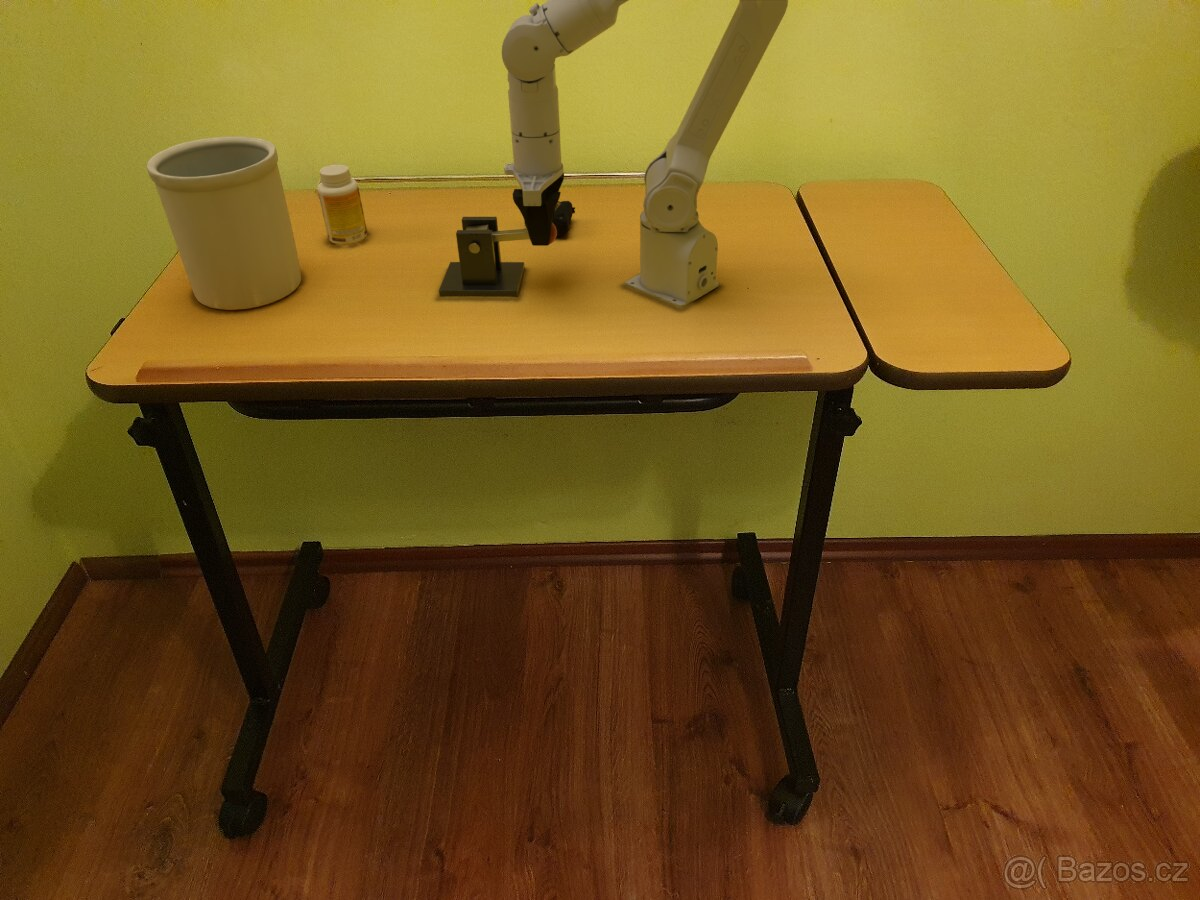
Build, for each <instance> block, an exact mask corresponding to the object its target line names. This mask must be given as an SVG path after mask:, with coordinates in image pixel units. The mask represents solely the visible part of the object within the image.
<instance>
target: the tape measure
mask: <svg viewBox="0 0 1200 900" xmlns="http://www.w3.org/2000/svg"><path fill="white" fill-rule="evenodd" d="M573 214H576V207H575V206H574V207H573V203H572V202H571V201H569V200H562V201H559V200H558V203H557V205H556V207H555V215H554V223H553V224H554V225H555V227H556V230H557V236H556V237H561V236H566V235H567V234H568V233H569V229H570V224H571V221H572V218H573ZM523 221H524V220H523ZM524 227H525V229H527V227H526V223H525V221H524Z"/></svg>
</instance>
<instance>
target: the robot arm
mask: <svg viewBox="0 0 1200 900" xmlns="http://www.w3.org/2000/svg"><path fill="white" fill-rule="evenodd" d="M627 2H629V0H547V1H544V3H542V4H541V5H539V3H537V2H536V3H534V4H533V5H531V6H530V7H529V9H528V11H529V12H528V14H523V15H521V16H519V17H518V18H516V19H515V20H514V21H513V22H512V23H511V25H510V27H509V29H508V31H507V33H506V35H505V36H504V39H503V41H502V44H501V59H502V62H503V65H504V68H506V70H507V82H508V90H507V97H508V111H509V119H510V120H509V121H510V123H509V124H510V132H511V146H512V147H511V148H512V156H513V157H512V158H513V163H510V162H509V163H506V164H505V165H504V168H503V171H504V175H505V176H513V177H514V178H515V180H516V182H517V184H518V185H519V187H520V188H514V189H513V192H512V200H513V203H514V204H515V205H516V207H517V209H518V210H519V212H520V214H521V216H522V218H523V221H525V222H524V224H525V223H526V226H525V228H526V227H527V228H526V229H527V230H528V234H529V237H530V239H529V240H530V243H531V245H532V246H534V247H537V246H539V247H541V246H543V247H544V246H545V247H548V246H550V244H549V242H550V237H551V229H552V223H554V215H555V207H556V205H557V203H558V201H559V200H560V197H561V191H560V190H561V187H562V185H563V182H564V180H565V172H564V164H563V162H562V146H561V143H562V142H561V126H560V124H561V123H560V105H559V104H560V103H559V88H558V85H557V78H556V77H557V76H556V63H555V62H556V59H557V58H560V57H568V56H569V55H571V54H572V53H574V52H575V51H577V50H578V49H580V48H581V47H584V46H585V45H586V44H588V43H589V42H590V41H592V40H593V39H595V38H597V37H599V36H600V35H602V34H603V33H604V32H606V31H607V30H608V29H610V28H612V27H613V26H615V25H616V22H617V18H618V14H619V9H620V7H621V6H623V5H624V4H625V3H627ZM788 6H789V0H739V1H738V4H737V6H736V9H735V11H734V12H733V15H732V17H731V19H730V20H729V23H728V25H727V27H726V29H725V32H724V33H723V35H722V38H721V39H720V42H719V44H718V46H717V48H716V50H715V52H714V54H713V56H712V58H711V60H710V62H709V63H708V66H707V68H706V70H705V72H704V74H703V77H702V78H701V81H700V82H699V84H698V87H697V89H696V91H695V94H694V95H693V97H692V99H691V101H690V103H689V105H688V108H687V110H686V111H685V113H684V116H683V118H682V120H681V122H680V124H679V126H678V128H677V130H676V132H675V134H674V135H673V136H672V137H671V138H669V140H668V142H667V144H666V146H665V147H664V149H663V151H662V152H661V153H660V154H658V156H657V157H655V158H654V159H652V160H651V162H650V163H649V164H648V166H647V167H646V169H645V172H644V178H643V180H644V187H645V188H644V189H645V190H644V191H645V192H644V198H643V205H642V206H643V211H642V212H640V215H639V221H640V222H639V230H640V231H639V274H637V275H635V276H633V277H631V278H630V279H627V280H626V281H625V285H626V286H628V287H630V288H633V289H635V290H637V291H640V292H642V293H645V294H647V295H649V296H652V297H655V298H657V299H659V300H662V301H664V302H667V303H669V304H671V305H674V306H676V307H680V308H682V307H685V306H687V305H688V304H690V303H692V302H695V301H696V300H698V299H699V298H701V297H703V296H705V295H706V294H708V293H709V292H711V291H713V290H714V289H716V288H718V287H719V286H720V282H719V281H717V263H718V249H719V248H718V247H719V246H718V245H719V244H718V239H717V236H716V234H714V233H713V232H712V231H710V230H708V229H707V228H705V226H703V225H702V223H701V222H700V220H699V219H700V217H699V216H700V215H699V212H698V210H697V209H698V195H699V192H700V189H701V187H702V186H703V183H704V180H705V177H706V174H707V171H708V166H709V162H710V159H711V157H712V156H713V153H714V151H715V150H716V147H717V145H718V143H719V142H720V140H721V138H722V137H723V134H724V132H725V131H726V128H727V126H728V125H729V122H730V120H731V119H732V117H733V115H734V112H735V111H736V109H737V107H738V105H739V103H740V101H741V99H742V97H743V96H744V94H745V91H746V89H747V88H748V86H749V84H750V81H751V80H752V78H753V76H754V75H755V72H756V70H757V68H758V66H759V65H760V63H761V60H762V58H763V57H764V55H765V53H766V51H767V50H768V47H769V45H770V43H771V41H772V39H773V37H774V36H775V33H776V31H777V30H778V28H779V26H780V23H782V20H783V19H784V16H785V15H786V12H787V9H788ZM529 13H530V14H529Z"/></svg>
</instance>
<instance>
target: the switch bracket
mask: <svg viewBox="0 0 1200 900" xmlns="http://www.w3.org/2000/svg"><path fill="white" fill-rule="evenodd" d="M479 225H489V230H466V228H467V226H479ZM461 228H462V229H457V230H456V232H455V236H456V237H455V238H456V245H457V251H458V253H457V254H458V259H459V261H450V262H449V263H448V267H447V268H446V272H445V274H444V277H443V279H442V282H441V283H440V287H439V289H438V294H439V297H482V298H483V297H496V298H497V297H499V298H500V297H502V298H503V297H504V298H505V297H506V298H508V297H509V298H512V297H513V298H517V297H518V295H519V291H520V288H521V284H522V280H523V277H524V272H525V262H524V261H502V257H501V255H502V254H501V247H500V242H493V234H492V232H493V231H499V226H498V217H497V216H462V218H461Z"/></svg>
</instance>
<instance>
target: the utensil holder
mask: <svg viewBox="0 0 1200 900" xmlns="http://www.w3.org/2000/svg"><path fill="white" fill-rule="evenodd" d="M278 160H279V157H278V152H277V148H276V146H275V145H274V143H273V142H271V141H269V140H267V139H263V138H258V137H253V136H252V137H251V136H236V135H235V136H233V135H232V136H217V137H216V136H215V137H207V138H201V139H200V138H199V139H196V140H190V141H186V142H182V143H178V144H175V145H173V146H170V147H167V148H165V149H163V150H161V151H159V152H157V153H156V154H154V155H153V156H152V157H150V159H149V160H148V161H147V163H146V170H147V173H148V176H149V177H150V179H151V181H152V182H153V183H154V184H155V185H154V186H155V188H156V191H157V194H158V196H159V199H160V202H161V205H162V207H163V210H164V213H165V216H166V219H167V222H168V225H169V228H170V231H171V233H172V237H173V239H174V242H175V246H176V248H177V251H178V254H179V257H180V260H181V262H182V265H183V268H184V271H185V273H186V276H187V279H188V281H189V285H190V286H191V289H192V292H193V295H194V297H195V299H196V300H197V301H198V302H199V303H200V304H202V305H204V306H206V307H208V308H211V309H215V310H216V309H217V310H228V311H232V310H234V311H236V310H247V309H254V308H257V307H262V306H265V305H270V304H272V303H275V302H277V301H280V300H282V299H284V298H285V297H288V296H289V295H290V294H292V293H293V292H294V291H295V290H297V288H299V286H300V284H301V283H302V272H301V265H300V261H299V256H298V250H297V245H296V240H295V236H294V231H293V227H292V222H291V217H290V213H289V208H288V205H287V200H286V195H285V192H284V187H283V186H284V185H283V181H282V179H281V178H282V177H281V173H280V169H279V165H278Z"/></svg>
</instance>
